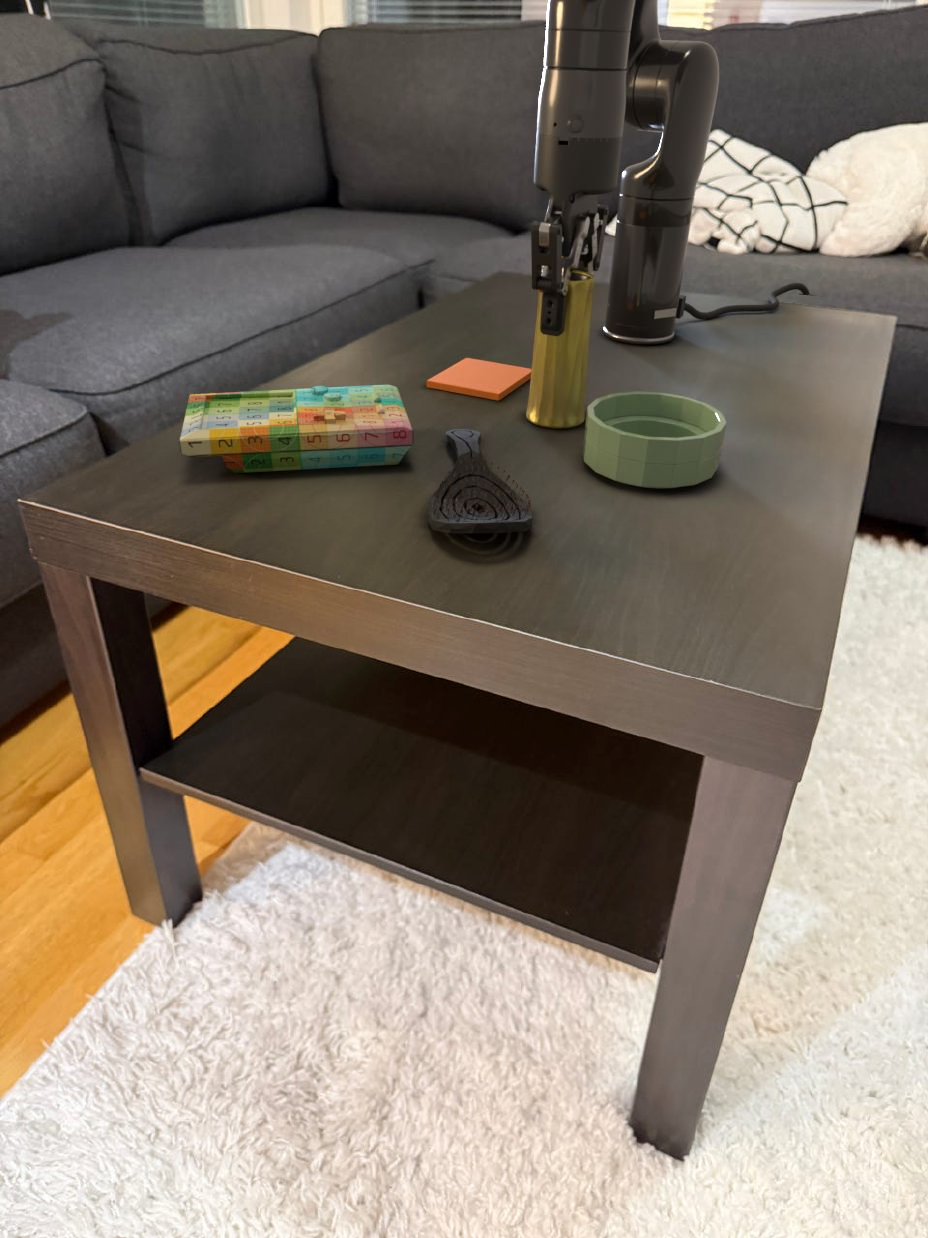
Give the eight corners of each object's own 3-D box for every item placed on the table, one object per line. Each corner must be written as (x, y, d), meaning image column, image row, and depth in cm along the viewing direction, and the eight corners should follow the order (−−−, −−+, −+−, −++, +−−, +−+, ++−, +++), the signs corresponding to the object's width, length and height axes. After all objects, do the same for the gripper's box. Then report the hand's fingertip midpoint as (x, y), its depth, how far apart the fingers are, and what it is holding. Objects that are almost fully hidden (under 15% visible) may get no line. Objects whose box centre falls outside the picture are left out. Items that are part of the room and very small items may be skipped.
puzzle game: (413, 420, 76) (177, 430, 73) (413, 469, 79) (185, 482, 76) (397, 377, 86) (187, 385, 83) (398, 423, 88) (195, 432, 85)
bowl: (607, 432, 88) (612, 383, 85) (728, 456, 83) (738, 405, 80) (563, 476, 78) (568, 423, 76) (696, 505, 74) (707, 450, 71)
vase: (581, 432, 88) (597, 284, 80) (521, 426, 89) (531, 279, 81) (586, 411, 93) (601, 270, 85) (530, 406, 94) (539, 266, 86)
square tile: (466, 363, 105) (466, 357, 105) (534, 375, 102) (535, 369, 102) (426, 387, 98) (426, 380, 98) (498, 401, 95) (499, 393, 94)
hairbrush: (502, 408, 85) (545, 510, 63) (501, 444, 87) (542, 556, 65) (417, 409, 84) (431, 513, 63) (418, 446, 86) (432, 559, 64)
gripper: (569, 122, 83) (554, 306, 92) (506, 132, 72) (497, 339, 81) (645, 127, 80) (622, 316, 89) (592, 138, 69) (572, 351, 79)
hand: (562, 326), depth 85 cm, fingers closed on vase, 5 cm apart
